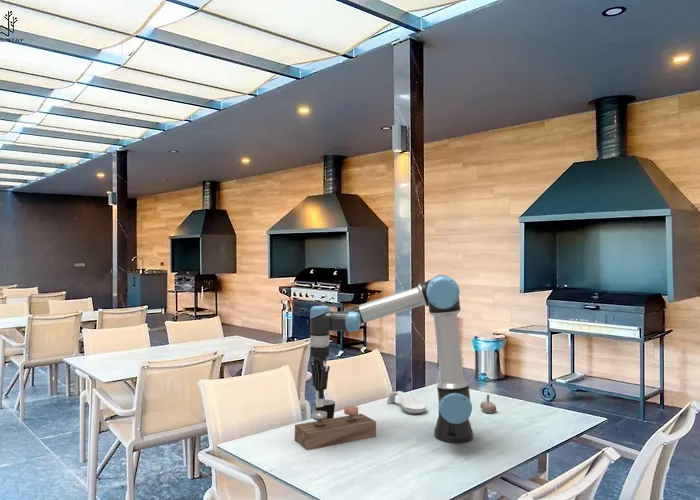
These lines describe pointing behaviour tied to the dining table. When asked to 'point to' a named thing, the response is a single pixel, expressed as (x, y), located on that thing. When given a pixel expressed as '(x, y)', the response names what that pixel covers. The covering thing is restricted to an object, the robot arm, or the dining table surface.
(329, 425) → the button block
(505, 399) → the dining table surface
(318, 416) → the grey plunger
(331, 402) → the coffee mug
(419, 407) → the spoon rest
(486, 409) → the garlic bulb
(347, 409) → the terracotta plunger
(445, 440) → the robot arm
